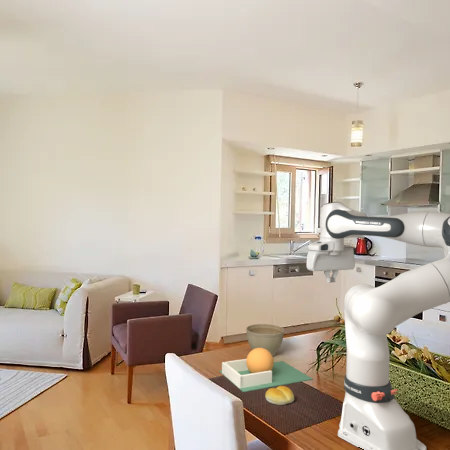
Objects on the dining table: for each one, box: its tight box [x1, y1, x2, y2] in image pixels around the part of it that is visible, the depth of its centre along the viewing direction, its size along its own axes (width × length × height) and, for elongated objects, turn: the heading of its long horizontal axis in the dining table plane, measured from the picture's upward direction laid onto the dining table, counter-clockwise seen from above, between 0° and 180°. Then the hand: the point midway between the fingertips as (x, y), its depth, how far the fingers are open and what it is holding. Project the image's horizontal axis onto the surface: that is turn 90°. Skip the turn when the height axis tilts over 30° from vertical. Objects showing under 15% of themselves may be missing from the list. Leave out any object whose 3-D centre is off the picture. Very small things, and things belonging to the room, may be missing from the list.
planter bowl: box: [245, 323, 285, 357], centre depth 174 cm, size 16×16×11 cm
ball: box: [245, 348, 275, 373], centre depth 149 cm, size 10×10×10 cm
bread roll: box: [264, 385, 295, 406], centre depth 130 cm, size 8×9×4 cm
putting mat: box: [218, 360, 314, 393], centre depth 150 cm, size 20×28×1 cm
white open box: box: [221, 358, 272, 389], centre depth 146 cm, size 15×12×4 cm
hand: (330, 282), depth 153 cm, fingers closed
